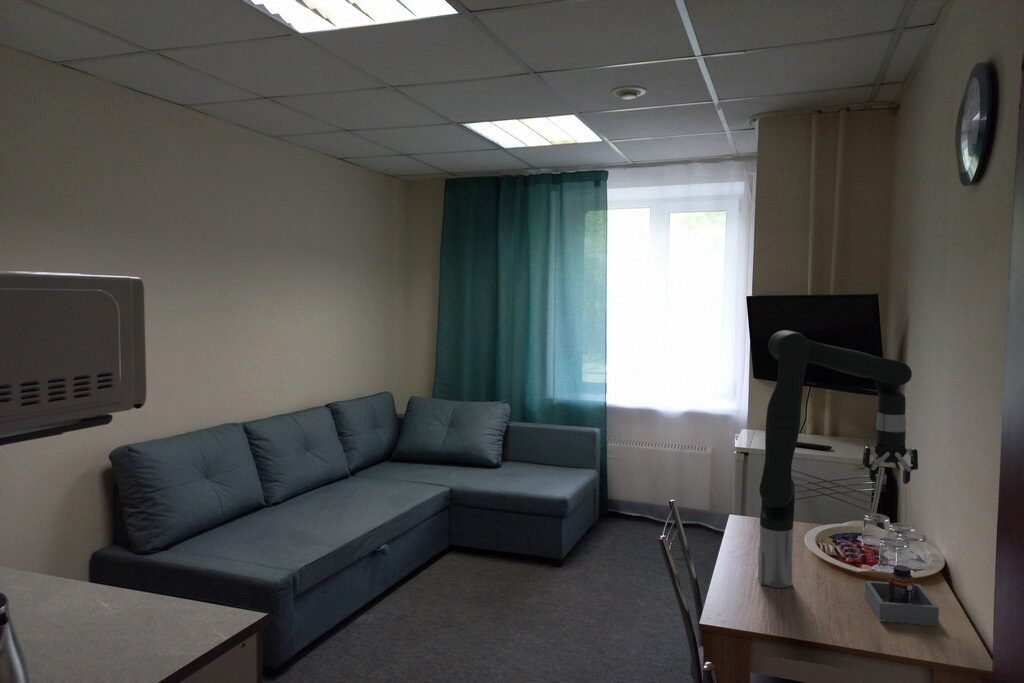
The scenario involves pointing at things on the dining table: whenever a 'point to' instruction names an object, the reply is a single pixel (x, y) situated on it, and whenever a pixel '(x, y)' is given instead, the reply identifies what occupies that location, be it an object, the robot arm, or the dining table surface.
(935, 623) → the grey bin
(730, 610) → the dining table surface
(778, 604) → the dining table surface
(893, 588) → the supplement bottle
